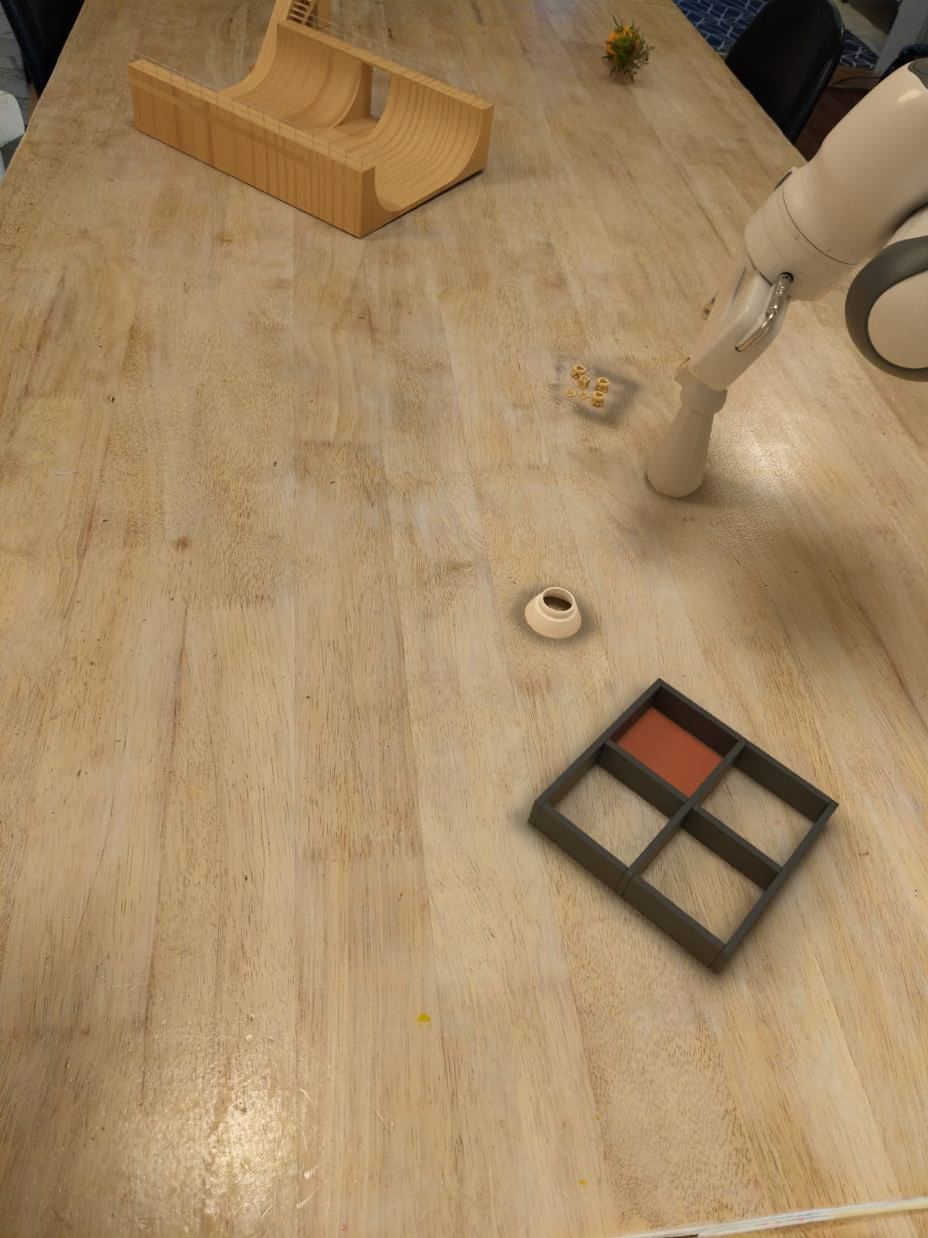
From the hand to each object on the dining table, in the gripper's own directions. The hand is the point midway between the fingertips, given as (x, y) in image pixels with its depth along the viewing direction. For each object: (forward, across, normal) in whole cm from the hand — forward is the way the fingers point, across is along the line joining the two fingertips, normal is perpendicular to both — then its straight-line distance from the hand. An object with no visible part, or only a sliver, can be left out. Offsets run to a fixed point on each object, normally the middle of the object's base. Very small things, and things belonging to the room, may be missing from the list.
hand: (695, 347), depth 93 cm
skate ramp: (+45, +47, +47) cm, 80 cm away
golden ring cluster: (+20, +9, +2) cm, 22 cm away
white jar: (+13, -25, -2) cm, 29 cm away
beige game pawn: (+14, -2, -8) cm, 17 cm away
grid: (+5, -41, -15) cm, 44 cm away
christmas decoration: (+42, +107, +18) cm, 116 cm away
